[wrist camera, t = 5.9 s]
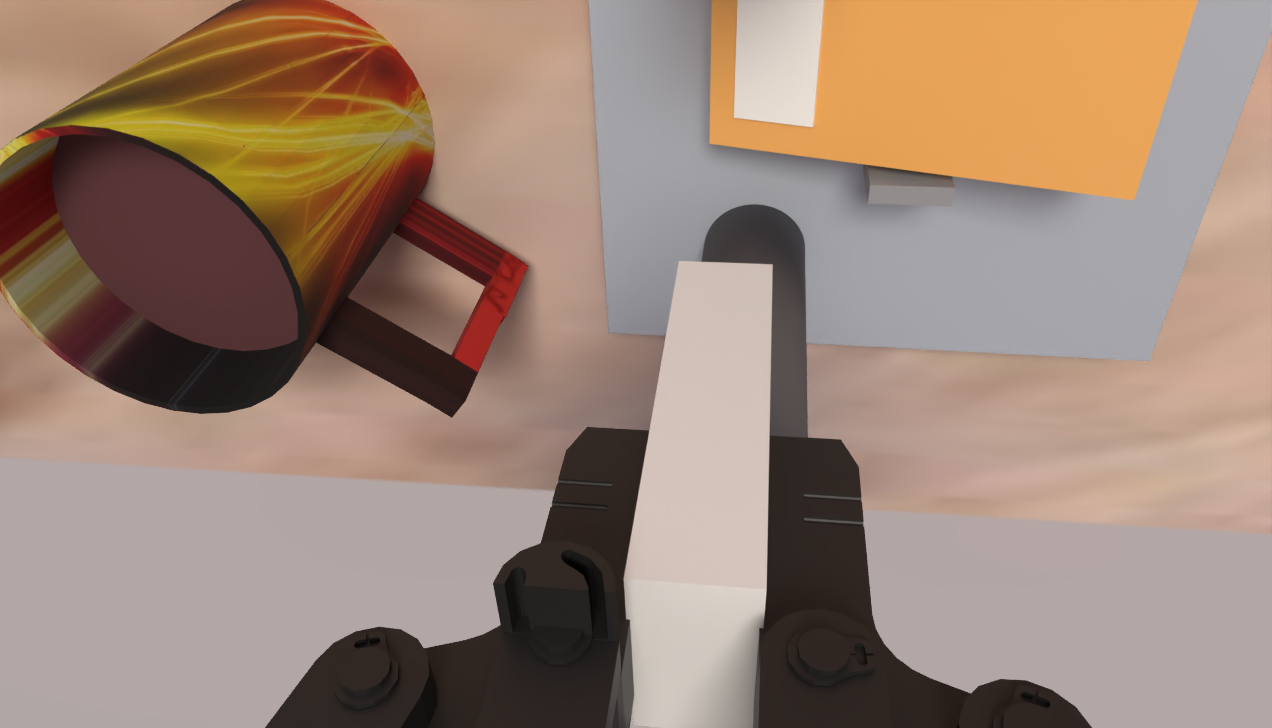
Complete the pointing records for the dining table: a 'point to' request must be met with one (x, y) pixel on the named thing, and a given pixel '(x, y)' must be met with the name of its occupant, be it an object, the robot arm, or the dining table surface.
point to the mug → (238, 215)
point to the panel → (908, 205)
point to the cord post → (773, 300)
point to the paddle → (951, 85)
